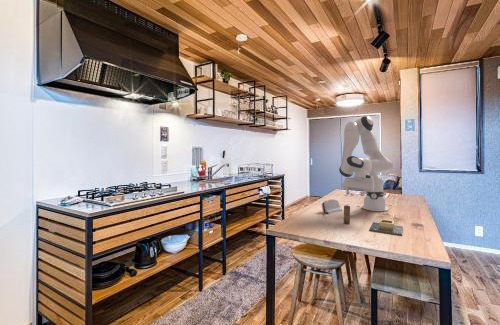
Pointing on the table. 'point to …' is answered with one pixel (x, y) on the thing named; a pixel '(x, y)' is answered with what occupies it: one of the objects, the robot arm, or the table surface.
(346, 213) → the rail post
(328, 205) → the hinge
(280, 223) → the table surface
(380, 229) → the peg socket base
